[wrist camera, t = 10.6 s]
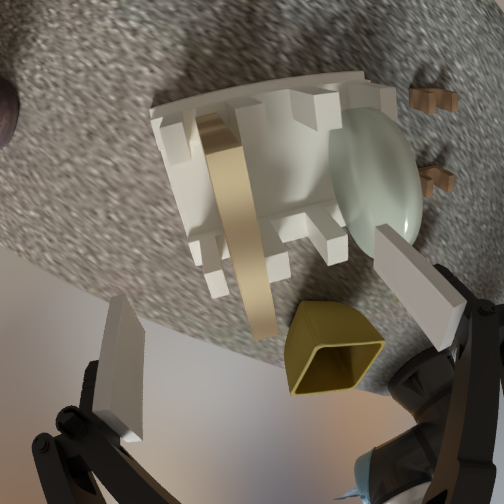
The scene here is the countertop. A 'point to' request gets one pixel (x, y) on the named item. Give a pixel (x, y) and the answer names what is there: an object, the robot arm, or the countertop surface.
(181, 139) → the dish rack
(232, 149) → the bamboo board
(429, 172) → the board stand
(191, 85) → the countertop surface
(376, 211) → the sage plate
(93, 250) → the countertop surface
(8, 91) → the mortar and pestle
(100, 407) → the robot arm
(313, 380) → the flower pot
